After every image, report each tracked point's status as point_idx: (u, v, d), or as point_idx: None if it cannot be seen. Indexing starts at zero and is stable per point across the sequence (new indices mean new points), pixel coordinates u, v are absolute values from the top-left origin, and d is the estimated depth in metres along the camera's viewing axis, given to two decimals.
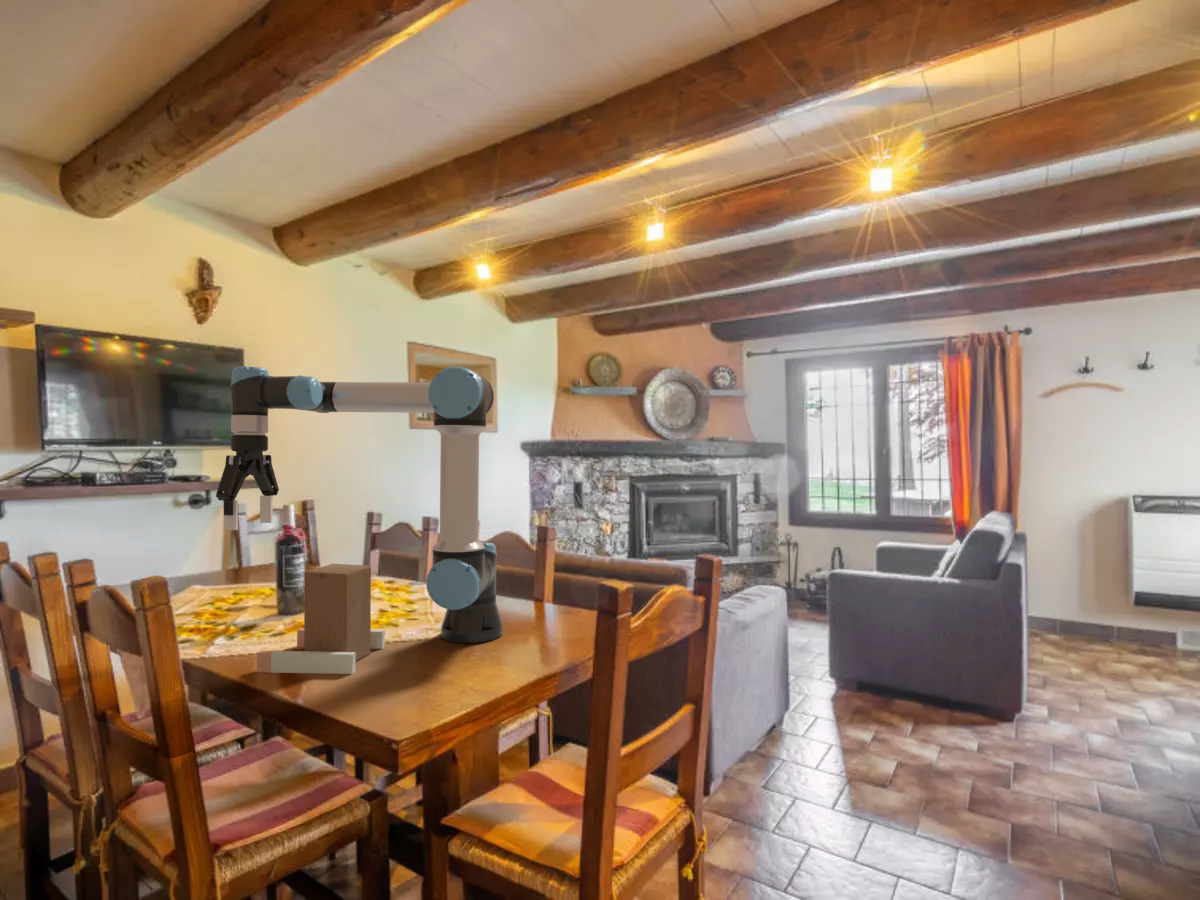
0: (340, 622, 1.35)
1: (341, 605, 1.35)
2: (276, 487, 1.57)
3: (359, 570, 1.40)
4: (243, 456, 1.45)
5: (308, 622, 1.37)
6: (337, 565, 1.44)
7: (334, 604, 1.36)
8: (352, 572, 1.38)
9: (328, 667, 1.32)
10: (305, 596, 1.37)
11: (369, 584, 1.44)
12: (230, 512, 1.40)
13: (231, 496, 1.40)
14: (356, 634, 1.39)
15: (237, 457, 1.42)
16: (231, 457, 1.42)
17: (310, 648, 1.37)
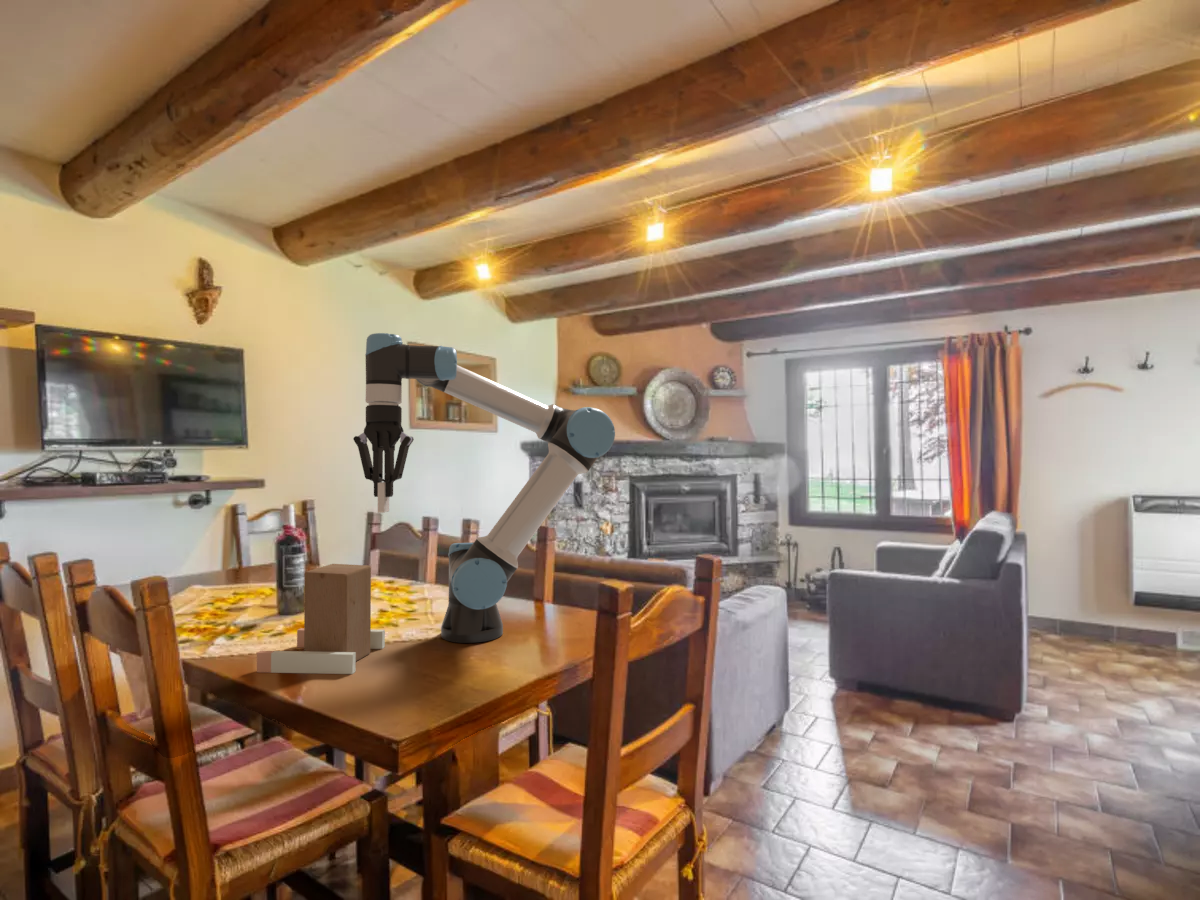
0: (340, 622, 1.35)
1: (341, 605, 1.35)
2: (395, 473, 1.40)
3: (359, 570, 1.40)
4: (364, 430, 1.41)
5: (308, 622, 1.37)
6: (337, 565, 1.44)
7: (334, 604, 1.36)
8: (352, 572, 1.38)
9: (328, 667, 1.32)
10: (305, 596, 1.37)
11: (369, 584, 1.44)
12: (375, 493, 1.41)
13: None
14: (356, 634, 1.39)
15: (354, 439, 1.41)
16: None
17: (310, 648, 1.37)
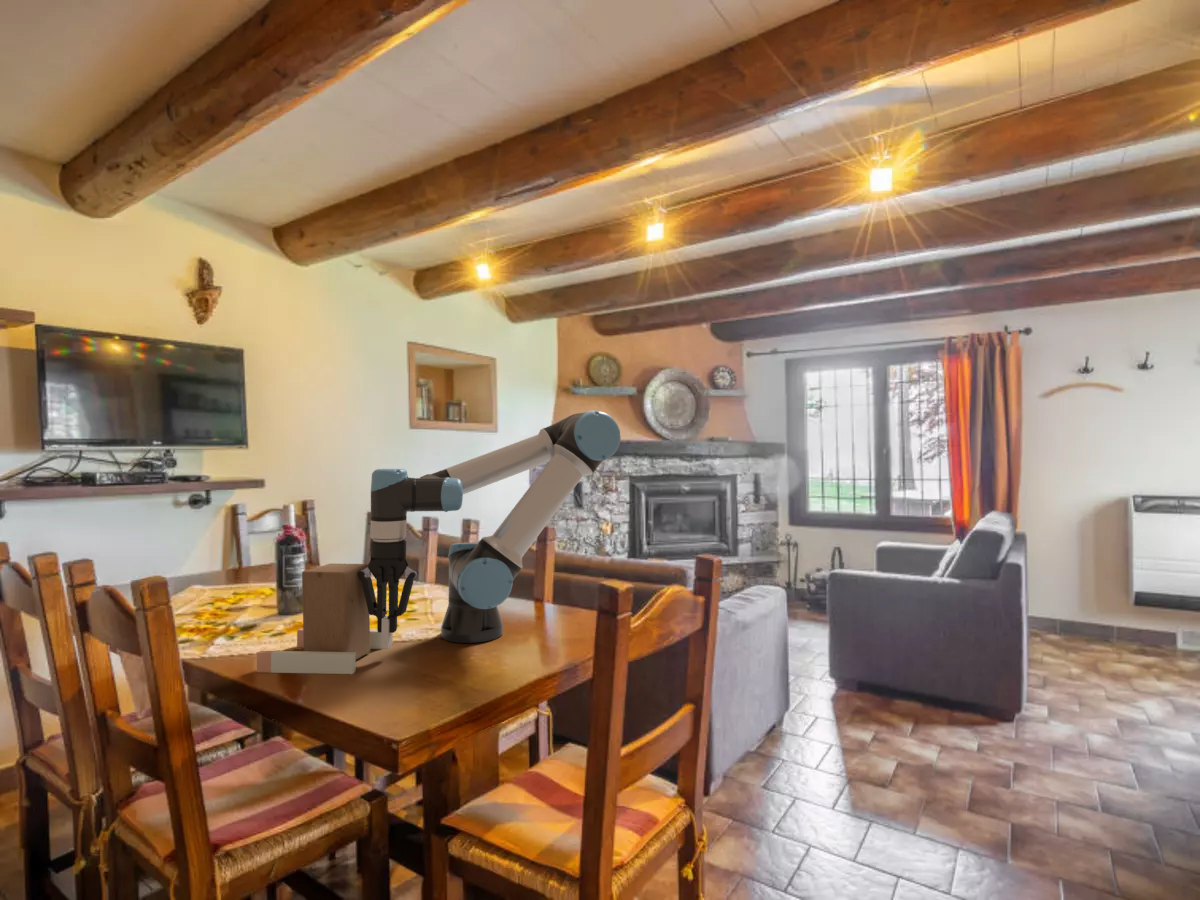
0: (339, 621, 1.35)
1: (339, 603, 1.35)
2: (399, 609, 1.39)
3: (356, 568, 1.40)
4: (368, 565, 1.40)
5: (307, 622, 1.37)
6: (334, 564, 1.44)
7: (332, 603, 1.36)
8: (349, 570, 1.38)
9: (328, 667, 1.32)
10: (303, 596, 1.37)
11: None
12: (379, 629, 1.40)
13: None
14: (355, 633, 1.39)
15: (358, 574, 1.39)
16: None
17: (309, 648, 1.37)
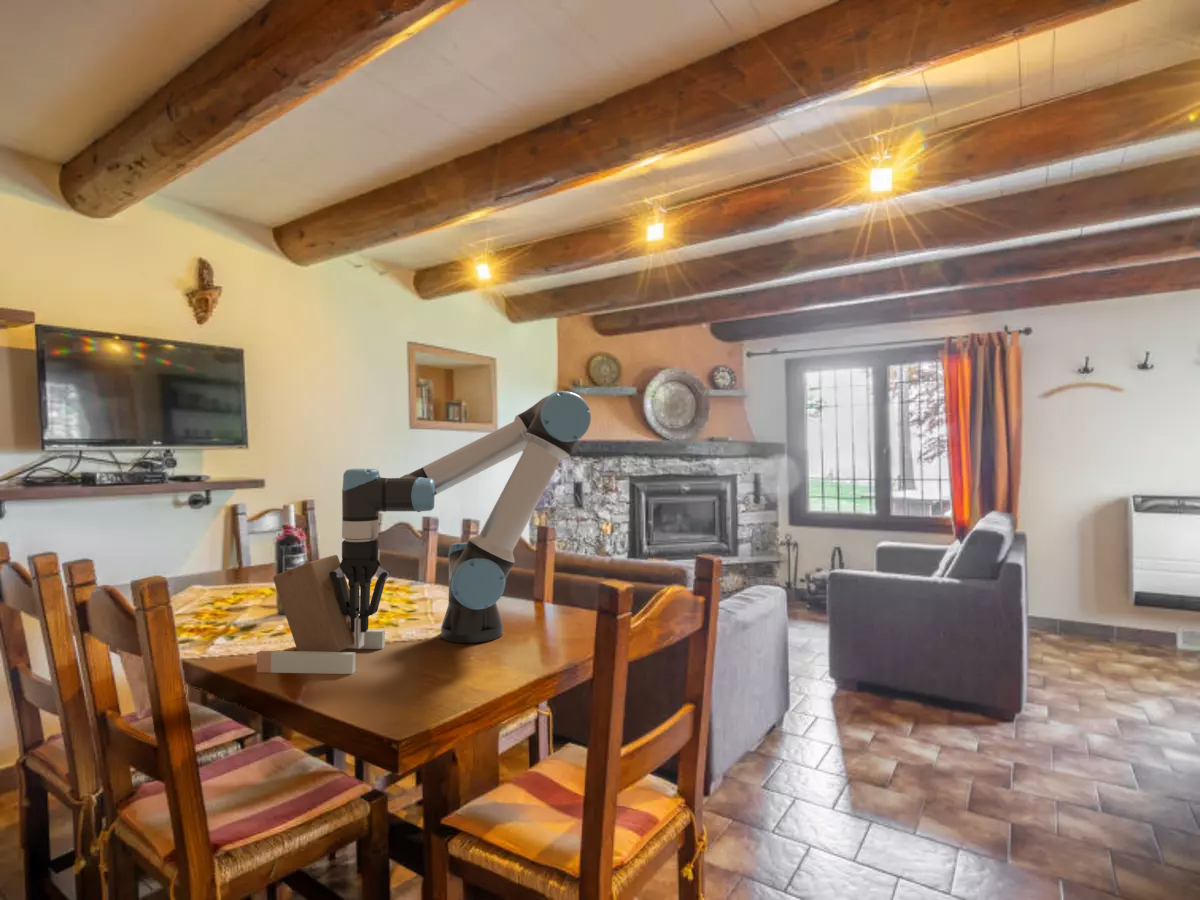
0: (321, 609, 1.36)
1: (316, 592, 1.36)
2: (370, 609, 1.39)
3: (325, 558, 1.42)
4: (340, 565, 1.40)
5: (292, 622, 1.37)
6: None
7: (309, 595, 1.37)
8: (317, 560, 1.39)
9: (328, 667, 1.32)
10: (281, 599, 1.38)
11: None
12: (352, 629, 1.40)
13: None
14: (342, 619, 1.40)
15: (330, 574, 1.40)
16: None
17: (302, 646, 1.37)
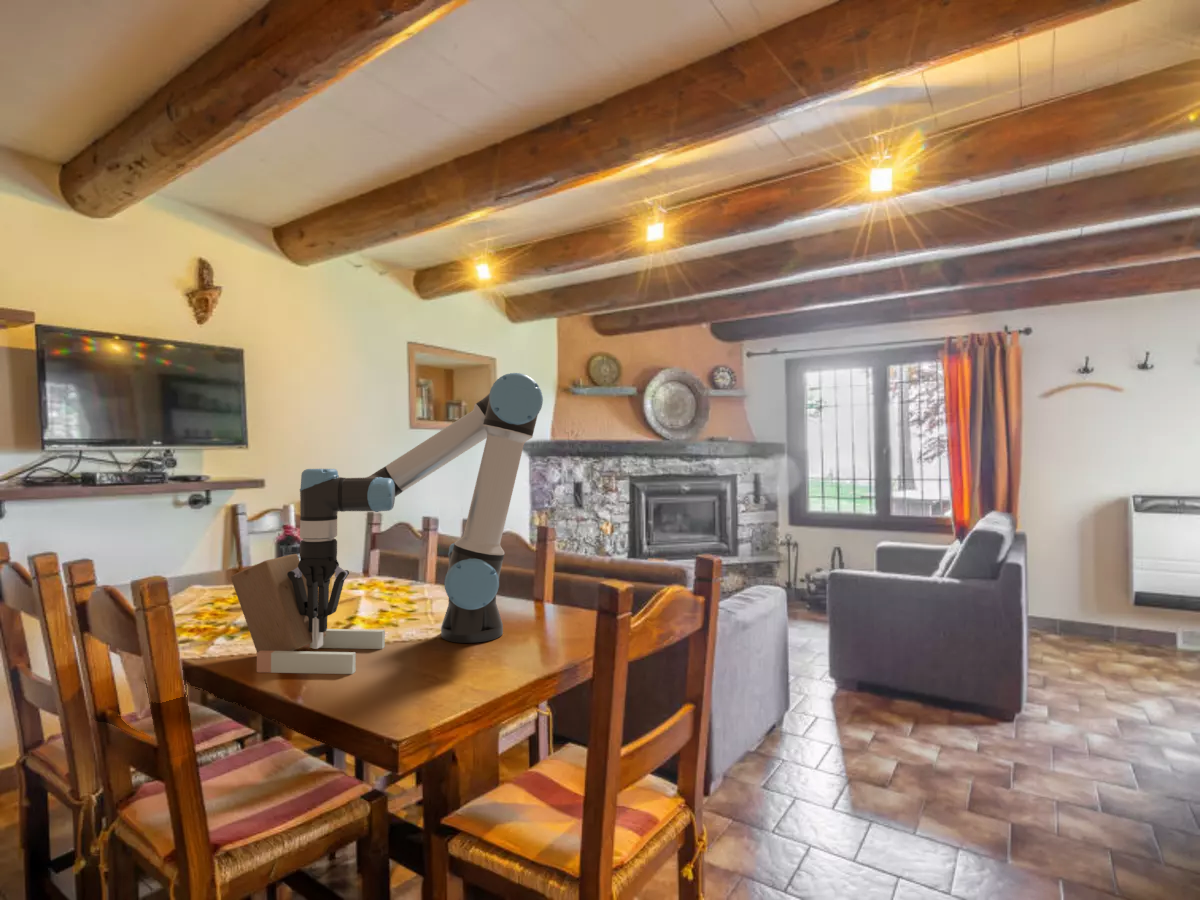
0: (277, 607, 1.36)
1: (272, 591, 1.37)
2: (329, 609, 1.39)
3: (282, 557, 1.42)
4: (298, 565, 1.40)
5: (250, 621, 1.38)
6: None
7: (266, 593, 1.37)
8: (274, 559, 1.40)
9: (328, 667, 1.32)
10: (239, 598, 1.39)
11: None
12: (310, 629, 1.40)
13: None
14: (300, 617, 1.40)
15: (288, 574, 1.40)
16: None
17: (260, 645, 1.37)
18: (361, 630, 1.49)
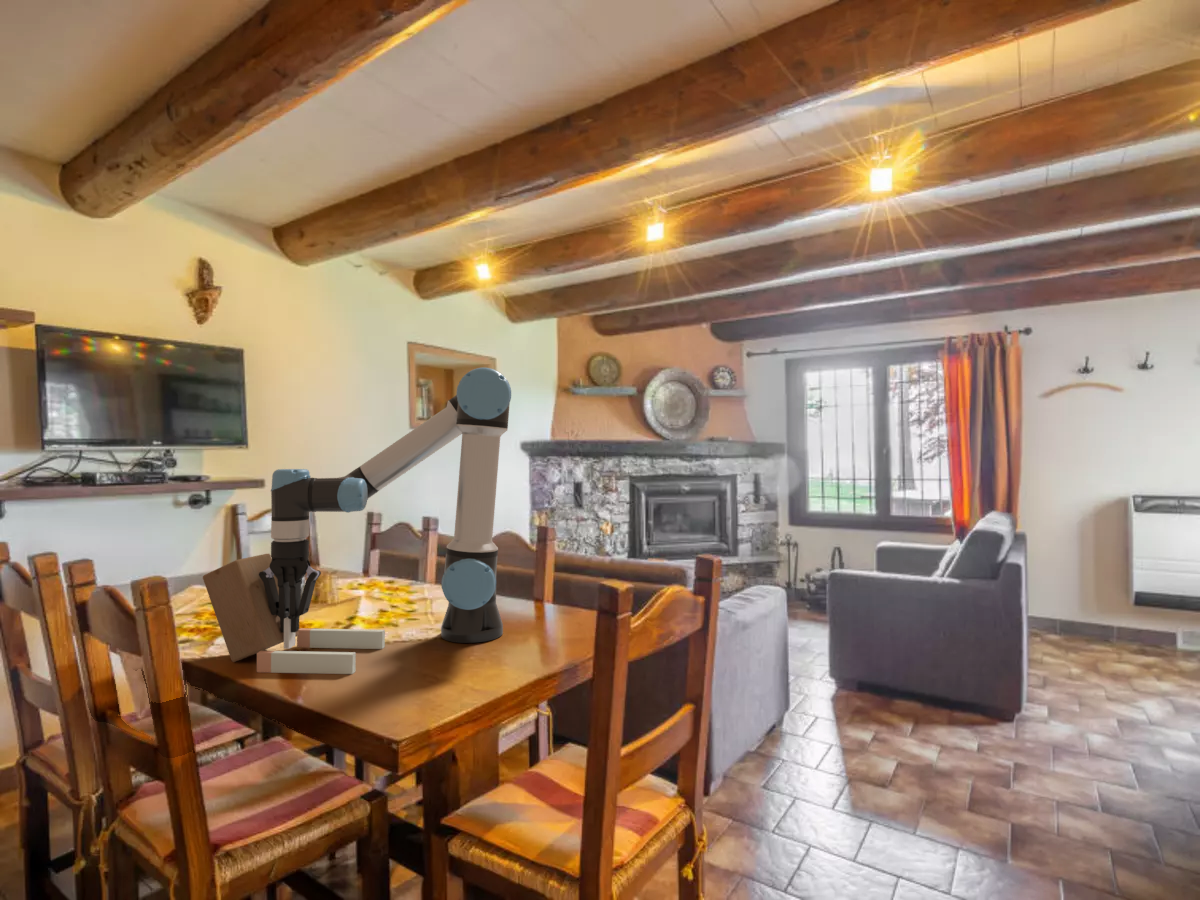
0: (247, 606, 1.37)
1: (242, 590, 1.37)
2: (300, 609, 1.40)
3: (254, 557, 1.43)
4: None
5: (221, 621, 1.38)
6: None
7: (236, 593, 1.37)
8: (245, 558, 1.40)
9: (328, 667, 1.32)
10: (210, 598, 1.39)
11: None
12: (282, 629, 1.40)
13: None
14: (272, 616, 1.40)
15: (259, 574, 1.40)
16: None
17: (231, 644, 1.38)
18: (361, 630, 1.49)
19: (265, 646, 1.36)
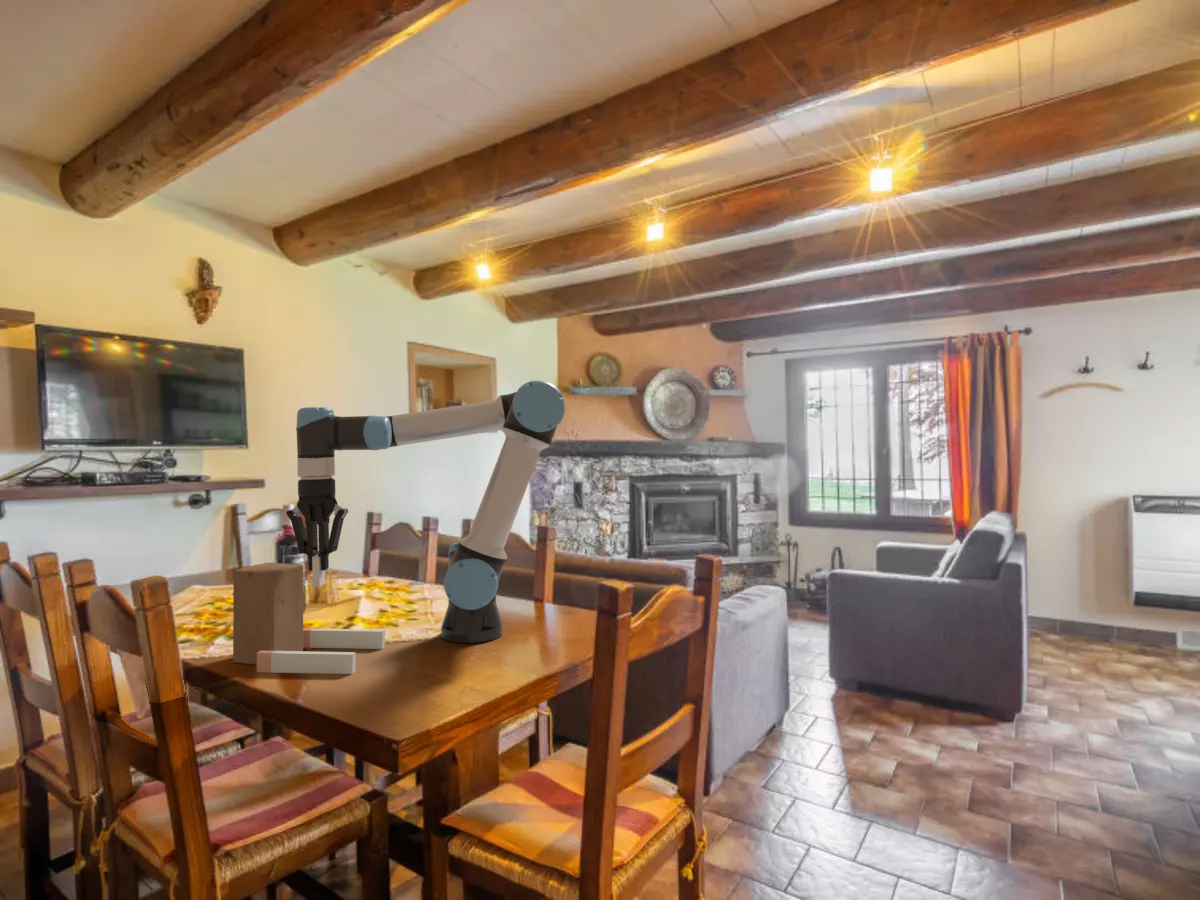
0: (267, 621, 1.36)
1: (268, 603, 1.36)
2: (329, 547, 1.40)
3: (289, 569, 1.41)
4: None
5: (237, 621, 1.37)
6: (270, 564, 1.45)
7: (261, 603, 1.36)
8: (281, 571, 1.38)
9: (328, 667, 1.32)
10: (234, 595, 1.38)
11: (301, 583, 1.44)
12: (310, 567, 1.40)
13: None
14: (285, 633, 1.40)
15: (287, 513, 1.40)
16: None
17: (238, 647, 1.37)
18: (361, 630, 1.49)
19: None
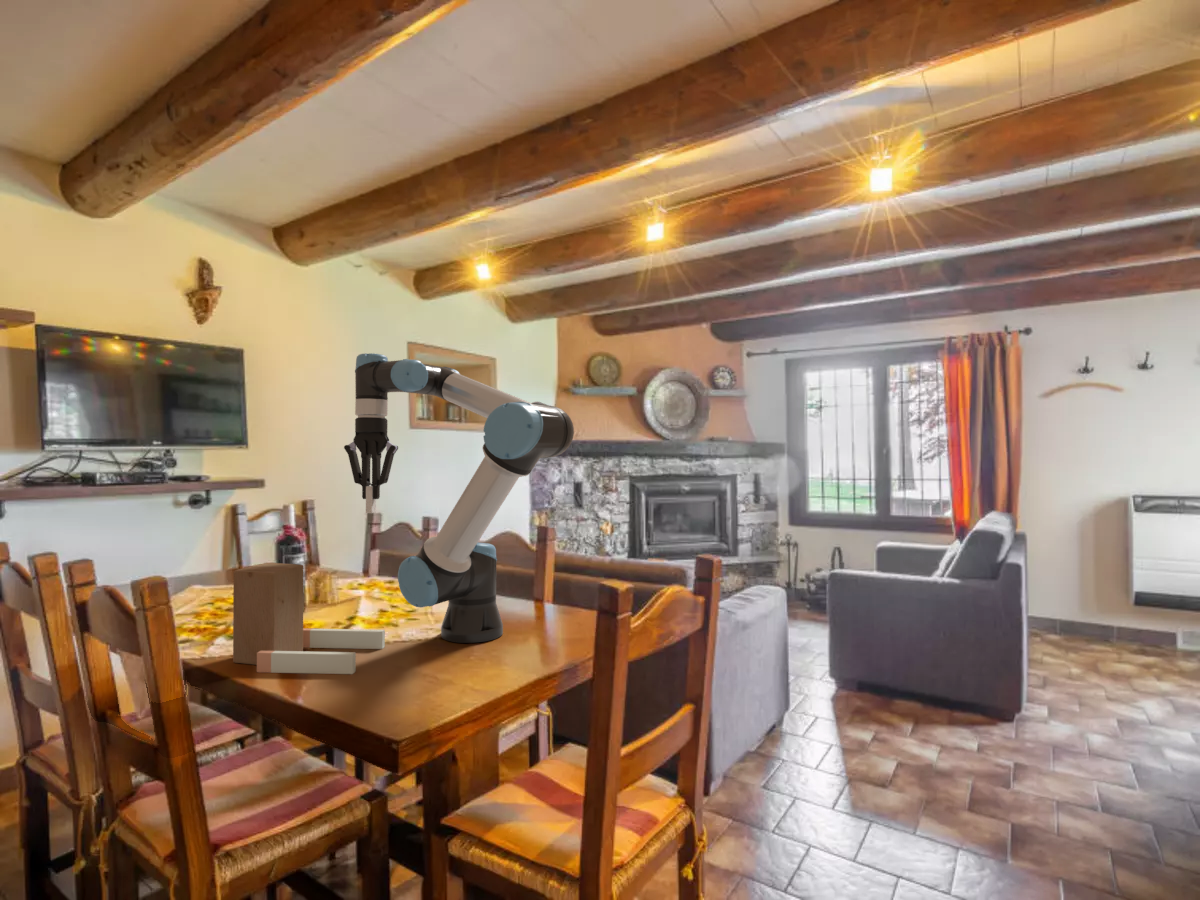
0: (267, 621, 1.36)
1: (268, 604, 1.36)
2: (381, 478, 1.57)
3: (289, 569, 1.41)
4: None
5: (237, 621, 1.37)
6: (270, 564, 1.45)
7: (261, 603, 1.36)
8: (281, 571, 1.38)
9: (328, 667, 1.32)
10: (234, 595, 1.38)
11: (301, 583, 1.44)
12: (363, 496, 1.58)
13: None
14: (285, 633, 1.40)
15: (345, 447, 1.58)
16: None
17: (238, 647, 1.37)
18: (361, 630, 1.49)
19: None
